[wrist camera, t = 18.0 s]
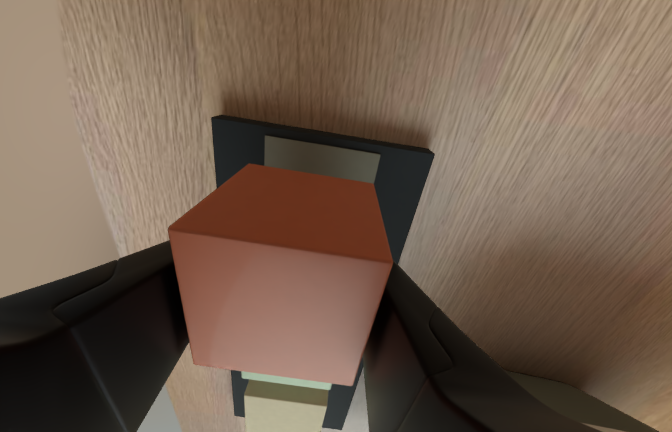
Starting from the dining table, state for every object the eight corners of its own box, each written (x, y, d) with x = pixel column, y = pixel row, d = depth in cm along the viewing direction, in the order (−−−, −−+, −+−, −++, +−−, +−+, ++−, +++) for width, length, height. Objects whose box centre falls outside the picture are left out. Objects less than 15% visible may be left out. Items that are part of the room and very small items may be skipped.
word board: (238, 403, 24) (210, 483, 19) (221, 114, 12) (133, 134, 7) (342, 417, 24) (340, 499, 19) (429, 149, 12) (481, 191, 7)
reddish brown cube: (249, 262, 11) (192, 365, 7) (248, 162, 9) (165, 227, 5) (351, 278, 11) (353, 387, 7) (374, 183, 9) (394, 262, 5)
